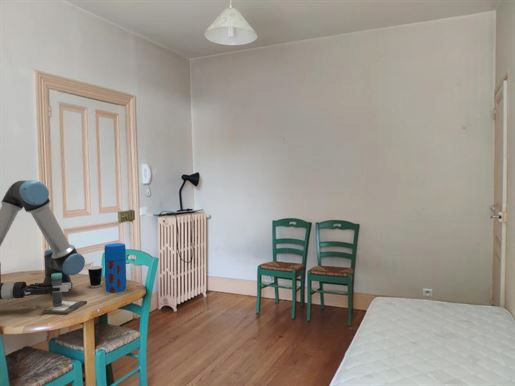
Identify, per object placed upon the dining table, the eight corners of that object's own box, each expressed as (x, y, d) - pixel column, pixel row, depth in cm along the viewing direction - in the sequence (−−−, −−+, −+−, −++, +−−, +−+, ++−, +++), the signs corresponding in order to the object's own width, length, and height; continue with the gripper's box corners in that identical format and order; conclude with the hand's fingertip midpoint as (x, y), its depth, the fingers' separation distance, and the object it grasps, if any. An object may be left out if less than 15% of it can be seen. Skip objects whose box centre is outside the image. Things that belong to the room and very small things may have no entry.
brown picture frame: (64, 302, 190) (64, 297, 190) (86, 303, 189) (86, 298, 189) (42, 313, 175) (42, 309, 175) (66, 314, 173) (66, 310, 173)
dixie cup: (88, 285, 220) (87, 266, 220) (103, 283, 223) (102, 265, 223) (87, 289, 213) (87, 269, 213) (103, 287, 216) (102, 268, 216)
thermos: (112, 286, 218) (111, 242, 216) (130, 287, 215) (129, 243, 214) (101, 292, 207) (100, 246, 206) (119, 293, 205) (118, 246, 204)
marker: (56, 303, 184) (55, 272, 183) (64, 304, 183) (63, 273, 182) (50, 306, 179) (49, 275, 179) (58, 307, 179) (57, 275, 178)
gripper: (22, 292, 186) (74, 289, 190) (7, 304, 169) (64, 300, 174) (21, 277, 185) (73, 274, 190) (6, 287, 169) (64, 284, 174)
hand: (69, 286), depth 182 cm, fingers closed on marker, 4 cm apart
